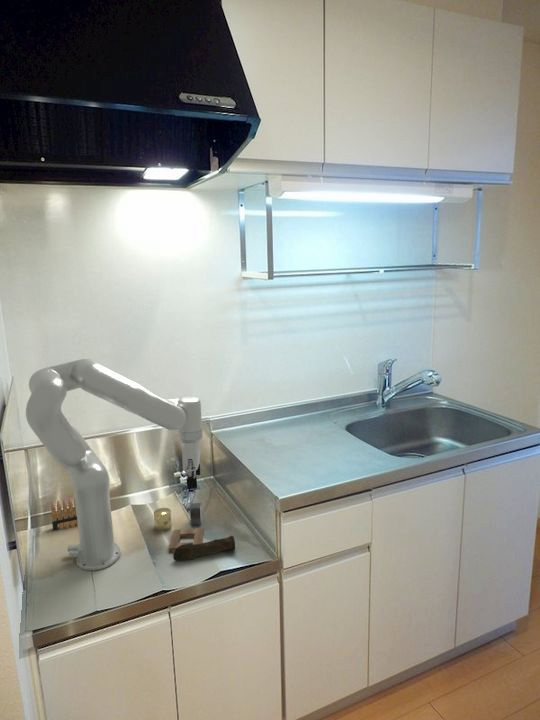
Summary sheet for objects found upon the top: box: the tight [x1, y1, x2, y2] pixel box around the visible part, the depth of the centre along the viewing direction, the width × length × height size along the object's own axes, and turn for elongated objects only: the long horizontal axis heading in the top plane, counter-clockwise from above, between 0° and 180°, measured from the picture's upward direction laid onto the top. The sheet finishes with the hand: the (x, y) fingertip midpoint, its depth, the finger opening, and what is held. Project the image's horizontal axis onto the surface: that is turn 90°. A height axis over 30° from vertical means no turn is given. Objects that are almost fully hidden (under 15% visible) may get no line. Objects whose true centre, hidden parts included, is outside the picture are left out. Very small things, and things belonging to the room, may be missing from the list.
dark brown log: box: [172, 535, 236, 562], centre depth 140 cm, size 19×4×5 cm, turn 106°
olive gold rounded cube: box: [153, 507, 173, 533], centre depth 154 cm, size 6×6×6 cm
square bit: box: [189, 502, 203, 526], centre depth 157 cm, size 3×3×7 cm
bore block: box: [168, 527, 205, 554], centre depth 146 cm, size 10×10×2 cm
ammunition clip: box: [50, 497, 78, 532], centre depth 154 cm, size 11×2×12 cm, turn 113°
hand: (194, 481), depth 153 cm, fingers open, 9 cm apart
